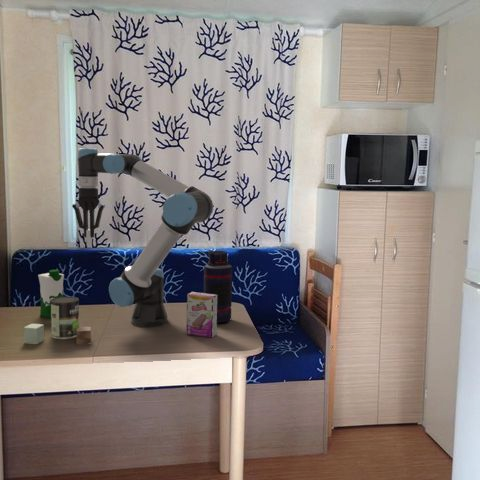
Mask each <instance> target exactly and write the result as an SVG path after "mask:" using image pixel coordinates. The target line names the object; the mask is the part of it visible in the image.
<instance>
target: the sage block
mask: <svg viewBox="0 0 480 480" xmlns="http://www.w3.org/2000/svg"><path fill="white" fill-rule="evenodd" d="M44 327H45V325H44V324H41V323H29V324H28V325H26V326H24V327H23V334H24V335H23V337H24V338H23V339H24V340H23V341H24V344H29V345H30V344H31V345H38V344H40V343H41V342H43V341H45V328H44Z"/></svg>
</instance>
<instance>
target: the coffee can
mask: <svg viewBox="0 0 480 480" xmlns="http://www.w3.org/2000/svg"><path fill="white" fill-rule="evenodd" d="M79 301H80V299H79V297H77V296H63V297H57V298H54V299H51V318H50V319H51V338H53V339H56V340H70V339H75V338H77V333H76V331H77V327H80V302H79Z"/></svg>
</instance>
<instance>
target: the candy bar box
mask: <svg viewBox="0 0 480 480" xmlns="http://www.w3.org/2000/svg"><path fill="white" fill-rule="evenodd" d="M217 325H218V322H217V295H214V294H206V293H204V292H196V291H191V292H189V293H187V295H186V329H185V330H186V334H185V335H190V336H197V337H201V338H202V337H203V338H210V339H212V338H213V339H214V338H215V336H216V335H217V333H218V332H217V331H218V330H217V327H218V326H217Z"/></svg>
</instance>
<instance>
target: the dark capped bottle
mask: <svg viewBox="0 0 480 480" xmlns="http://www.w3.org/2000/svg"><path fill="white" fill-rule="evenodd" d="M203 274H204V275H203V293H206V294H214V295H217V323H225V322H226V323H227V324H228V322H229V321H230V322H231V320H232V304H233V303H232V299H233V298H232V297H233V292H232V291H233V275H232V274H233V265H231V264H230V263H229V259H228V252H227V251H224V250H210V251H208V262H207V263H206V264H205V265H203ZM230 322H229V323H230Z"/></svg>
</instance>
